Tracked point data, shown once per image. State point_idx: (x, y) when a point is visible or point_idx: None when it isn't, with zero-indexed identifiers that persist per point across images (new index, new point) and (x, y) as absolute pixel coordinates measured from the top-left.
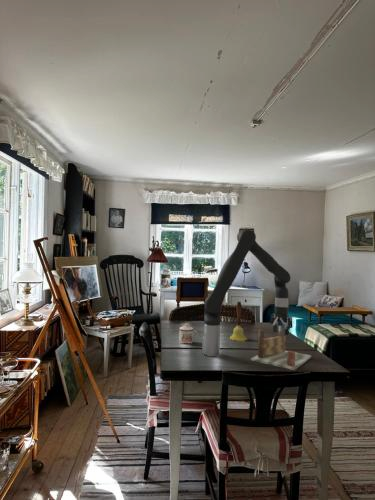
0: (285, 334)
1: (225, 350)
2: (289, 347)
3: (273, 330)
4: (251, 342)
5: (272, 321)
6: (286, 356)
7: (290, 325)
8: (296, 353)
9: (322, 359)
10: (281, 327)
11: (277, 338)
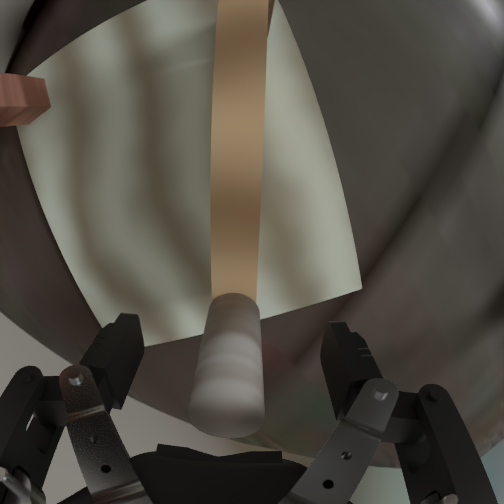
0: (125, 315)
1: (478, 31)
2: (307, 390)
3: (354, 335)
4: (487, 286)
5: (423, 429)
6: (155, 212)
7: (51, 431)
8: (177, 323)
9: (82, 354)
10: (194, 390)
11: (211, 231)
